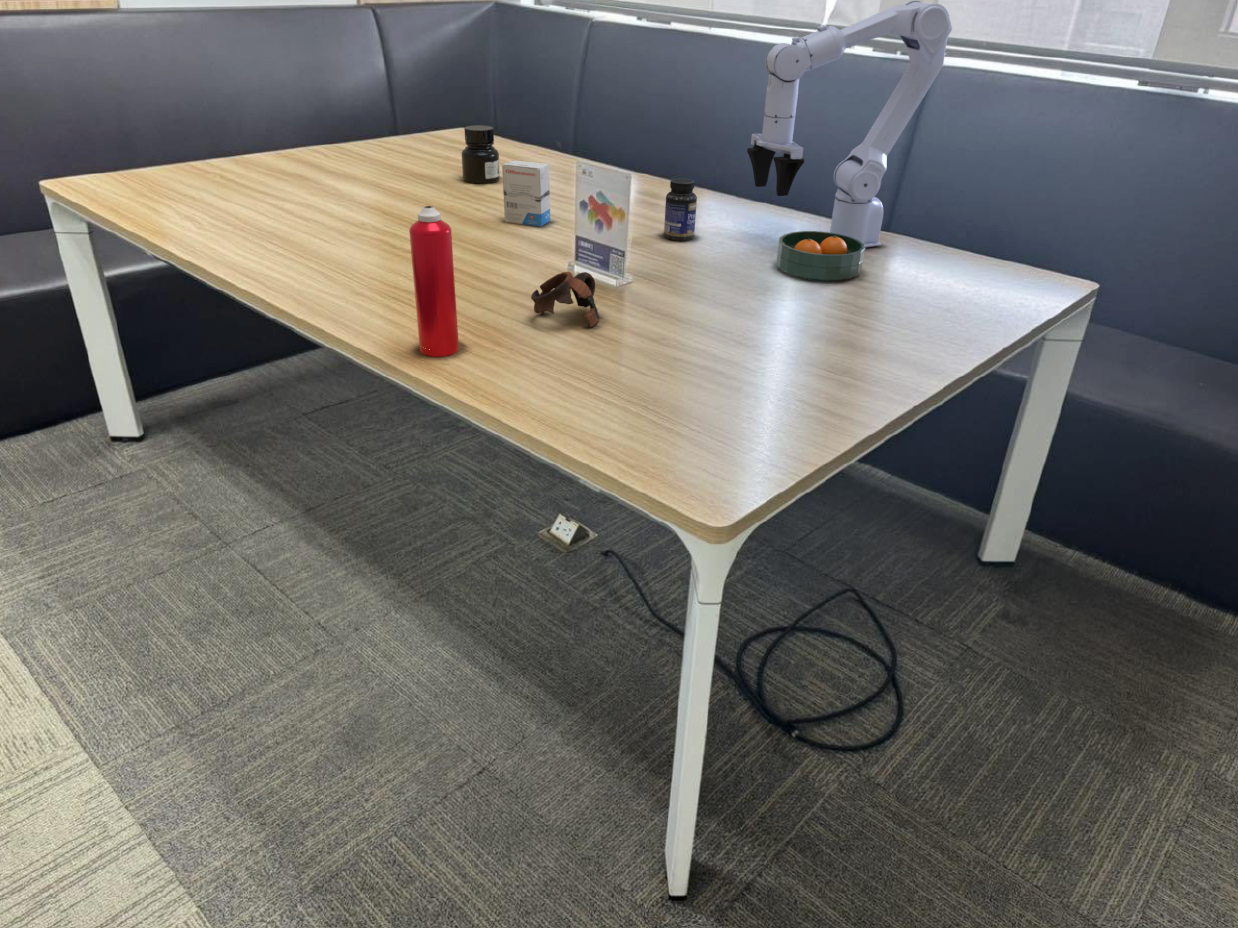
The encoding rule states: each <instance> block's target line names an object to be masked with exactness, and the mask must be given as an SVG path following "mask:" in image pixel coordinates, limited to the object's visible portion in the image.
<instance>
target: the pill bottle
mask: <svg viewBox="0 0 1238 928" xmlns="http://www.w3.org/2000/svg"><path fill="white" fill-rule="evenodd" d="M669 187H670V191H669V192H667V194H666V196H665V207H664V208H665V209H664V226H663V227H664V229H663V235H664V237H665V238H667V239H668V240H672V241H677V242H678V241H679V242H685V241H690V240H693V239H694V237H695V230H696V218H697V203H698V202H697V201H698V196H697V195H696V193H695V192H694V189H695V180H693V179H691V178H690V179H689V178H679V177H678V178H672V179H670V185H669Z"/></svg>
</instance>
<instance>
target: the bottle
mask: <svg viewBox="0 0 1238 928" xmlns="http://www.w3.org/2000/svg"><path fill="white" fill-rule="evenodd" d="M408 231H409V242H410V253H411V264H412V277H413V287H414V288H413V289H414V300H415V310H416V321H417V334H418V345H419V352H420V353H421V354H423V355H425V356H429V357H435V358H437V357H447V356H448V357H449V356H451V355H454V354H456V353H458V351H459V350H460V345H459V344H460V342H459V329H458V327H459V325H458V313H457V311H458V310H457V298H456V297H457V296H456V283H455V282H456V281H455V268H454V267H455V266H454V251H453V250H454V249H453V233H452V228H451V226H450V224H449V223H447V222H445V221H444V220H442V217H441V212H440V211H437V209H436V208H435V207H434V206H433V205H425V206H423V207H422V209H421V210H420V211H419V212H418V213H417V221H415V222H414V223H412V224H411V225H410V227H409V230H408ZM420 345H421V346H422V347H421V346H420ZM423 347H424V348H423ZM425 348H426V349H425ZM429 349H430V350H429Z"/></svg>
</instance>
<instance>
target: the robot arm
mask: <svg viewBox="0 0 1238 928" xmlns="http://www.w3.org/2000/svg"><path fill="white" fill-rule="evenodd" d="M952 32H953V26H952V23H951V18H950V15H949V11H948V9H947V8H946V7H945V6H944V5H942V4H940V3H934V2H933V3H929V2H923V1H920V0H909V1H907V2H905V4H903V3H901V4H897V5H894V6H891V7H889V8H887V9H883V10H882V11H880V12H878V13H877V12H876V14H873V15H871V16H869V17H867V18H863V19H861V20H859V21H857V22H855V23H853V24H850V25H848V26H846V27H844V28H842V29H840V28H837V27H836V26H834V25H829V26H827V25H826V24H822V25H818V26H817V31H814V32H811V33H809V34H807V35H804V36H801V37H800V36H798V35H796V36H794V37H792V39H791V44H790V43H788V42H787V43H786V42H780V43H778V44H776V45H774V46H773V47H772V48H771V49H770V50H769V52H768V54H767V57H766V58H765V60H764V66H765V69H766V71H767V72H768V77H767V87H766V93H765V102H764V110H763V111H764V113H763V120H762V129H761V130H762V131H761V133H752V134H751V139H750V145H751V146H752V147H748V148H747V149H746V153H747V154H748V157H749V160H750V162H751V166H752V173H753V180H754V187H756V188H761V187H762V188H763V187H766V186H767V184H768V182H769V181H768V180H769V175H770V170H771V166H772V162H773V163H774V166H775V173H776V183H775V184H776V189H775V190H776V191H775V193H776V196H778V197H786V196H788V195H789V192H790V190H791V188H792V185H793V182H794V180H795V178H796V176H797V174H798V172H799V170H800V169H801V167H802V166H803V164H804V163H805V158H804V157H803V155H804V147H802V146H800V145H799V144H798V143H796V142H795V141H794V139H793V138H794V131H795V122H796V114H797V107H798V106H797V105H798V98H799V86H800V79H801V77H803V75H804V74H805V72H809V71H812V70H814V69H817V68H820V67H822V66H824V65H828V64H830V63H832V62H834V61H837V60H839V59H841V57H842V56H843V54H844V52H845V51H846V49H849V48H851V47H854V46H856V45H860V44H863V43H866V42H868V41H871V40H874V39H877V38H880V37H883V36H886V35H896V36H899V38H900V39H901V41H902V42H903V43H904V46H905V47H906V51H907V54H908V59H909V65H908V67H907V68H906V70H905V72H904V73H903V75H902V77H901V78H900V80H899V81H898V82H897V85H896V86H895V88H894V90H893V91H892V93H891V95H890V96H889V98H888V99H887V101H886V103H885V105H884V106H883V108H882V110H881V111H880V113H879V114H878V116H877V117H876V119H875V121H874V123H873V124H872V126H871V128H870V129H869V131H868V133H867V134H866V136H865V138H863V139H864V140H862V142H861V143H860V144H859V145H857V146H856V147H854V148H853V149H851V150H850V153H849V154H848V156H847V157H846V158H845V159H843V160H842V161H840V162H839V163H838V164H837V166H836V167H835V169H834V171H833V182H834V184H835V186H836V187H837V189H836V192H835V195H834V202H833V209H832V215H831V222H830V229H829V232H831V233H837V234H842V235H846V236H849V237H852V238H855V239H857V240H859V241H861V242H862V243H863V244H864V245H865V248H873V247H881V245H882V243H881V242H880V235H881V230H882V224H883V220H884V206H883V203H882V201H881V200H880V199H879V198H878V197H876V195H877V194H878V193H879V191H880V189H881V185H882V179H883V177H884V176H885V175H884V174H886V172H887V168H888V167H887V165H888V164H887V160H888V159H887V157H888V155H889V154H890V152H891V151H892V149H893V147H894V146H895V144H896V143H897V141H898V139H899V138H900V136H901V134H902V133H903V131H904V130H905V128H906V127H907V125H908V123H909V121H910V120H911V118H912V117H913V116H914V114H915V112H916V110H917V109H918V107H919V106H920V104H921V103H922V101H923V100H924V98H925V96H926V94H927V93H928V91H929V89H930V88H931V87H932V85H933V83H934V82H935V80H936V78H937V76H938V75H939V73H940V72H941V70H942V68H943V66H944V62H945V54H946V49H947V43H948V38H949V36H950V34H951V33H952ZM776 153H778V154H781V155H782V156H775V155H776Z"/></svg>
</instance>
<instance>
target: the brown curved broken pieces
mask: <svg viewBox="0 0 1238 928" xmlns="http://www.w3.org/2000/svg"><path fill="white" fill-rule="evenodd" d="M539 288H540V290H541V292H540V291H539V290H538V289H535V290H534V291H533V292H532V293H531V296H530V299H531V300H532V301H533V303H534V305H533V312H534V313H536V314H540V315H545V313H546V312H547V313H550V314H552V315H554V314H555V311H554V309H555V302H557V303H559V304H565V305H572V304H574V299H573V298H572V294H573V295H574V298H575V300H576V304H577V306H578V307H582V308H589V310H588V312H587V313H586V314H585V315H584V318H585V320H586V321H587V324H588V327H589V328H590V329H591V328H593V327H594V326H595V325H596V324H597V323H598V321H599V320H600V315H599V311H598V308H597V305H596V303H595V298H594V295H595V292H596V280H595V279H594V277H593V276H592V274H590V273H589V272H586V271H583V272H580V273H577V274H576V275H575V276H573V273H572V272H571V271H563V272H560V273H558V274H555V275H554V276H551V277H550V278H549V279H547V280H546V281H544V282H543V283H541V284H540V285H539ZM571 292H572V293H571Z"/></svg>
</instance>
